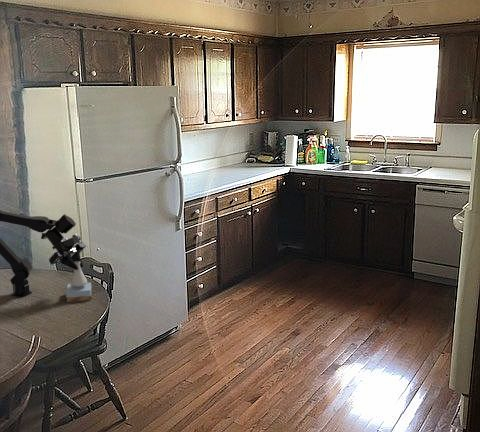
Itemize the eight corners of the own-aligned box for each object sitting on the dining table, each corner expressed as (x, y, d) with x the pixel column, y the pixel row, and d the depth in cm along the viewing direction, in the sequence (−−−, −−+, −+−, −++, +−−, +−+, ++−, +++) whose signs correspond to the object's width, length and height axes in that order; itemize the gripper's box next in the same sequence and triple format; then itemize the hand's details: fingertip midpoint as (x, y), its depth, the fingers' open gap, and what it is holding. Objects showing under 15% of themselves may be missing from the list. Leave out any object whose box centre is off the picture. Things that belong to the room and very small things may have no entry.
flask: (84, 286, 230) (81, 264, 228) (68, 287, 231) (65, 265, 228) (90, 281, 237) (87, 259, 235) (74, 281, 238) (71, 259, 236)
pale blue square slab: (66, 297, 229) (65, 292, 228) (68, 289, 238) (67, 284, 238) (90, 295, 231) (90, 290, 231) (91, 287, 241) (91, 282, 240)
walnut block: (67, 303, 229) (66, 297, 229) (68, 294, 239) (67, 289, 238) (91, 301, 232) (91, 295, 231) (91, 292, 241) (91, 287, 241)
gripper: (52, 234, 221) (76, 263, 220) (81, 224, 238) (103, 251, 237) (38, 250, 226) (61, 279, 225) (68, 239, 243) (89, 266, 241)
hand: (79, 268), depth 232 cm, fingers closed on flask, 3 cm apart
